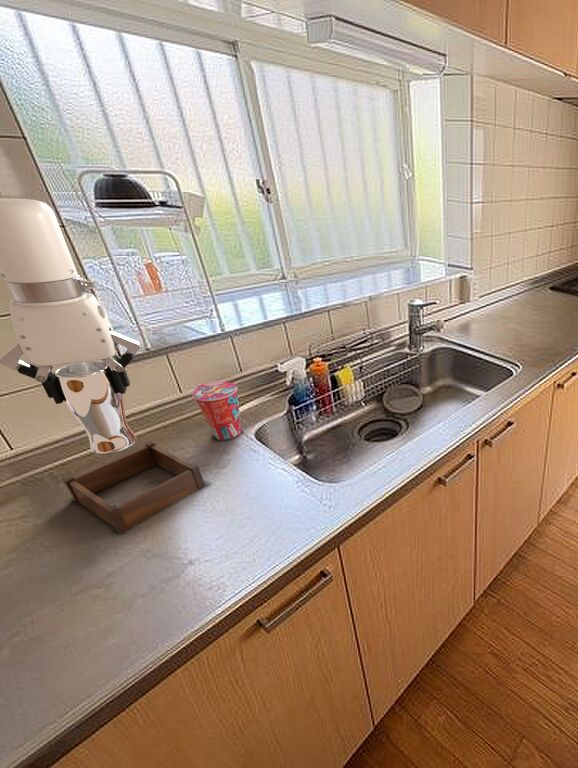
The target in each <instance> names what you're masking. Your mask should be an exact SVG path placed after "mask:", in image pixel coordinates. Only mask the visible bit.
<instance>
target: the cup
mask: <svg viewBox="0 0 578 768" xmlns="http://www.w3.org/2000/svg"><path fill="white" fill-rule="evenodd" d="M191 397H192V398H193V399H194V400H195V401H196V403H197V405H198V407H199V409H200V412H201V413H202V415H203V416H204V419H205V421H206V422H207V424H208V426H209V428H210V430H211V432H212V434H213V435H214V438H215V439H217V440H221V441H224V440H230V439H233V438H235V437H237V436H239V435H240V434H241V433H242V424H241V413H240V411H241V410H240V405H239V404H240V403H239V397H238V385H237V384H236V383H235V382H229V381H220V382H218V381H217V382H207V383H202V384H199V385H197V387H196V388H195V389H194V390H193V392H192V394H191Z"/></svg>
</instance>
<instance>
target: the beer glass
mask: <svg viewBox="0 0 578 768" xmlns="http://www.w3.org/2000/svg"><path fill="white" fill-rule="evenodd" d="M112 371H113V370H112V368H111V367H110V366H108V365H107V364H106V363H104V362H103V361H102V360H95V361H87V362H79V363H71V364H65V365H64V366H61V367H59V368H57V369H56V370H55V371H54V372H53V374H54V376H55V378H56V381H57V385H58V388H59V390H60V393H61V395H62V398H63V400H64V401H63V403H65V405H66V407H67V408H68V410H69V412H71V414H72V415H73V417H74V418H75V419H76V420H77V421H78V423H79V424H80V425H81V426H82V427H83V429H84V431H85V432H86V434H87V437H88V440H89V447H90V451H91V452H92V454H95V455H100V456H104V455H112V454H117V453H120V452H122V451H125V450H127V449H129V448H130V447H132V446H134V445H135V444H136V442H137V441H138V438H137V436H136V434H135V433H134V432H133V430H132V428H131V427H130V426H129V423H128V421H127V417H126V410H125V401H124V396H123V394H121V393H119V392H118V389H117V387H116V384H115V382H114V379H113V377H112Z"/></svg>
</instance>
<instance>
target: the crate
mask: <svg viewBox="0 0 578 768" xmlns="http://www.w3.org/2000/svg"><path fill="white" fill-rule="evenodd" d="M144 445H145V446H142V447H141V448H138V449H136V450H133V451H130V452H129V453H126V454H124V455H122V456H119V457H117V458H114V459H112V460H110V461H108V462H106V463H103V464H101V465H99V466H97V467H94V468H92V469H90V470H88V471H85V472H83V473H81V474H78V475H76V476H74V477H73V475H69V476H68V477H65V478H63V479H62V481H63V483H64V484H65V486H66V489H67V490H68V492H69V493H70V496H71V497H72V499H73V501H75V502H76V503H80V505H83V506H84V507H86V508H87V509H88V510H89V511H91V512H93V514H95V515H96V516H98V517H100V518H101V519H102V520H103V521H105V522H107V523H108V524H109V525H111V526H112V527H114V529H115V530H116V531H117V532H118V533H119V534H122V533H123V532H125V531H126V530H128V529H129V528H130V527H132V526H134V525H136V524H138V523H140V522H141V521H143V520H145V519H147V518H148V517H150V516H152V515H154V514H155V513H157V512H159V511H162V510H163V509H165V508H166V507H168V506H170V505H172V504H173V503H176V502H178V501H179V500H181V499H183V498H184V497H187V496H188V495H190V494H191V493H193V492H195V491H197V490H200V489H202V488H204V487H206V483H205V481H204V479H203V475H202V472H201V470H200V469H201V468H200V467H199V465H197V464H196V463H195V464H191V463H190V462H187V461H185V460H183V459H182V458H180V457H178V456H176V455H174V454H172V453H171V452H169V451H168V450H167V451H166V450H165V449H163V448H161V447H160V446H158V445H156V442H154V441H152V440H151V441H148V442H145V444H144ZM155 465H157V466H159V467H161V468H163V469H165V470H166V471H168V472H170V473H172V474H174V475H176V476H174V477H172V478H170V479H168V480H166V481H164V482H162V483H160V484H158V485H156V486H154V487H152V488H150V489H148V490H147V491H146V490H145V491H144V492H142V493H140V494H139V495H136V496H135V497H133V498H130V499H129V500H126V501H125V502H122V503H121V504H119V505H115V504H112V505H111V504H110V503H108V502H107V501H106V500H104V499H103V498H101V497H99V496H98V495H96V493H99V492H100V491H103V490H105V489H107V488H109V487H111V486H113V485H115V484H118V483H119V482H122V481H124V480H126V479H128V478H130V477H132V476H134V475H137V474H138V473H141V472H143V471H145V470H147V469H149V468H151V467H153V466H155Z"/></svg>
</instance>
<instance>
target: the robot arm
mask: <svg viewBox="0 0 578 768" xmlns="http://www.w3.org/2000/svg"><path fill="white" fill-rule="evenodd" d="M0 274H1V276H2V278H3V281H4V283H5V285H6V287H7V289H8V292H9V293H10V295H11V298H12V299H11V300H9V302H8V307H9V313H10V318H11V323H12V325H13V329H14V333H15V335H16V339H17V341H18V343H17V344H16V345H15V346H14V347H13V348H11V349H10V350H9V351H8V352H7V353H5V354H4V355H3V356H2V357H1V358H0V365H3V366H4V367H7V368H8V369H11V370H14V371H17V372H18V373H19V374H21V375H24V376H26V377H28V378H32V379H34V380H35V381H36V382H37V383H41V385H42V387H43V389H44V391H45V393H46V395H47V397H48V398H49V399H53V401H54V402H55V404H56V405H59V404H62V403H64V400H63V398H62V395H61V393H60V390H59V388H58V385H57V381H56V378H55V376H54V372H52V371H53V368H54V366H60V365H61V366H62V365H69V364H73V363H79V362H87V361H95V360H97V361H103V362H104V363H106V364H107V365H108V366H110V367H111V369H112V377H113V379H114V382H115V384H116V387H117V389H118V392H119V393H121V394H122V395H124V394H126V393H127V389H128V387H130V386H131V381H130V379H129V376H128V373H127V370H126V367H127V366H128V365H129V364H130V362H132V361H133V359H134V357H135V356H136V355H137V354H138V352H139V350H140V349H141V347H142V343H141V342H140V341H138V340H135V339H132V338H130V337H127V336H125V335H123V334H121V333H118V332H115V331H114V329H113V327H112V325H111V322H110V320H109V319H108V316H107V314H106V313H105V310H104V309H103V307H102V306H101V304H100V303H99V301H98V299H97V298H96V296H95V295H94V294H93V293H89V292H88V293H87V291H90V290H94V289H96V288H97V285H96V283H95V281H94V280H93V279H86V278H84V277H81V275H80V274H78V271H77V268H76V266H75V263H74V261H73V258H72V255H71V253H70V250H69V248H68V245H67V242H66V240H65V237H64V235H63V232H62V229H61V226H60V225H59V222H58V219H57V217H56V215H55V212H54V210H53V209H52V207H51V206H49V205H48V204H47V203H46V202H44V201H42V200H41V201H40V200H37V199H31V198H17V197H13V198H11V197H0ZM119 346H122V347H124V348H126V351H124V352H123V353H122V355H121V356H119V355H118V354H117V353H116V350H117V348H119ZM22 355H23V356H24V358H25V359H26V361H27V362H24V360H22V359H20V357H22Z"/></svg>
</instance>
